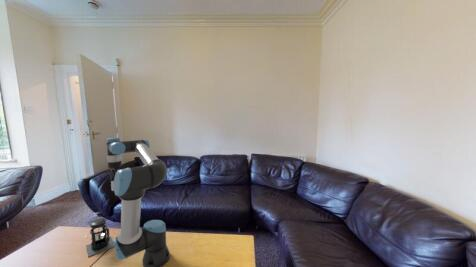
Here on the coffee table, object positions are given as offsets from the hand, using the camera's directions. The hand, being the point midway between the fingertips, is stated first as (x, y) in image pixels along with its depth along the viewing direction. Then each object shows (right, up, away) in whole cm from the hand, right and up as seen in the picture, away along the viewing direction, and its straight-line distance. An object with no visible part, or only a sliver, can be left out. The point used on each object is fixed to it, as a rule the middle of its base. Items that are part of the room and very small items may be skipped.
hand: (116, 192), depth 126 cm
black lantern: (-11, -36, 0) cm, 37 cm away
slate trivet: (-11, -36, 0) cm, 38 cm away
